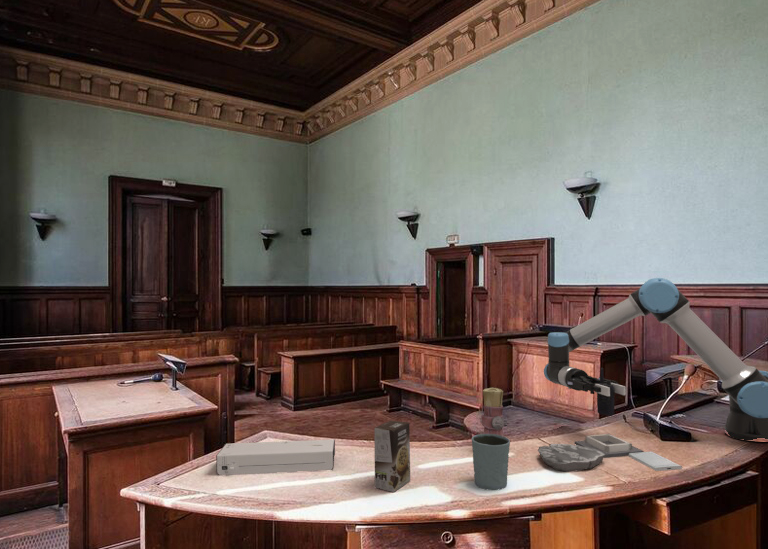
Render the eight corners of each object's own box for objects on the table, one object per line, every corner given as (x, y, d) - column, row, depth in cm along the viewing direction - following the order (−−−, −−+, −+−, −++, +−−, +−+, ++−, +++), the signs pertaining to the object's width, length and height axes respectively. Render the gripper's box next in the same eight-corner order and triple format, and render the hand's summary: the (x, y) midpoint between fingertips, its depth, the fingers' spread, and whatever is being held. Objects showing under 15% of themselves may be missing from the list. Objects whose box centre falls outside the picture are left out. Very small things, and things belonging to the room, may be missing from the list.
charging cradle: (614, 440, 166) (613, 431, 166) (643, 454, 153) (643, 444, 153) (574, 444, 163) (574, 435, 163) (601, 458, 150) (600, 448, 150)
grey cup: (470, 476, 137) (469, 433, 137) (506, 476, 137) (505, 433, 137) (475, 491, 127) (474, 445, 127) (514, 491, 126) (513, 444, 127)
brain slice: (568, 449, 159) (568, 440, 159) (614, 465, 144) (613, 455, 144) (522, 459, 150) (522, 450, 151) (565, 478, 135) (565, 467, 135)
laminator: (335, 458, 155) (334, 439, 155) (333, 473, 142) (333, 451, 143) (226, 463, 152) (226, 443, 152) (215, 478, 140) (215, 456, 140)
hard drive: (628, 453, 151) (655, 467, 139) (652, 451, 152) (682, 465, 140) (628, 458, 151) (656, 473, 139) (652, 456, 152) (682, 470, 140)
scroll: (480, 455, 154) (479, 391, 155) (480, 447, 162) (478, 387, 162) (505, 456, 153) (504, 392, 154) (503, 448, 160) (502, 387, 161)
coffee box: (394, 493, 127) (393, 430, 127) (374, 488, 130) (373, 427, 131) (411, 481, 134) (410, 422, 135) (391, 476, 138) (390, 419, 138)
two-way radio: (595, 413, 159) (594, 367, 160) (601, 411, 162) (601, 366, 162) (612, 417, 155) (611, 369, 155) (618, 414, 158) (618, 368, 158)
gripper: (596, 387, 178) (642, 401, 155) (551, 390, 174) (591, 405, 151) (595, 366, 178) (641, 378, 155) (551, 369, 174) (591, 381, 152)
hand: (616, 391), depth 153 cm, fingers closed on two-way radio, 5 cm apart
